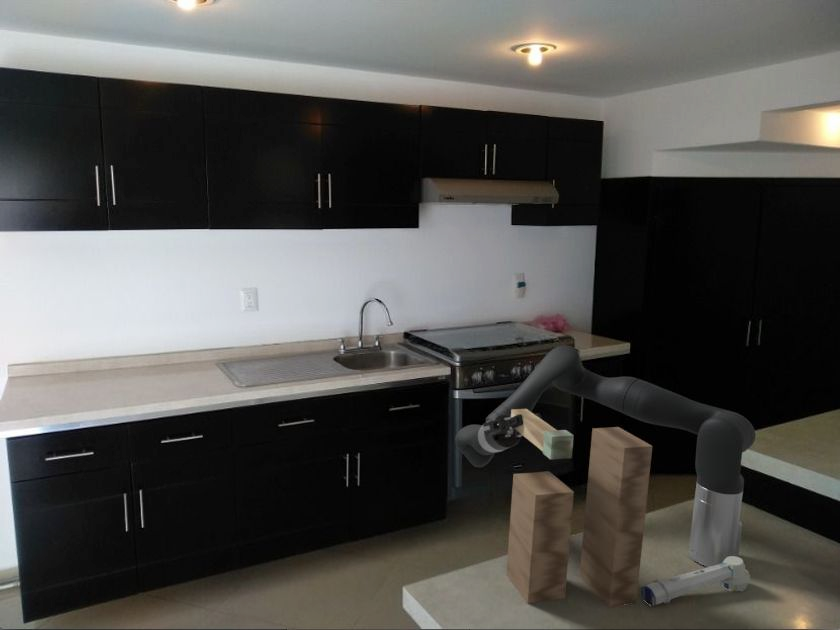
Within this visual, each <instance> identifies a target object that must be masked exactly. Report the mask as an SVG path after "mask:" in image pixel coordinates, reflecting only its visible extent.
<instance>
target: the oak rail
mask: <svg viewBox="0 0 840 630" xmlns="http://www.w3.org/2000/svg"><path fill="white" fill-rule="evenodd" d="M518 414H522V420H523V425H521V426H519V427H517V428H514V429H515V430H517V431H518V432H519V433H520V434H522V435H523V436H522V437H524V438H525V439H527V440H528V441H529V442H530V443H531V444H533V445H534V446H535V447H537V448H538V449H539V450H540V451H541V452H542V454H543V455H544V456H545V457H547V458H548V459H549V460H562V459H564V460H565V459H572V457H573V448H574V434H573V433H571V432H570V431H568V430H566V429H559V430H558V429H556V428H554V427H553V426H552V425H550V424H549V423H548V422H546V421H545V420H543V418H542V419H540V418H539V417H537V416H536V415H534V414H535V413H534V412H533V411H531V412H530V411H529V410H527V409H511V417H514V416H516V415H518Z"/></svg>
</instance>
